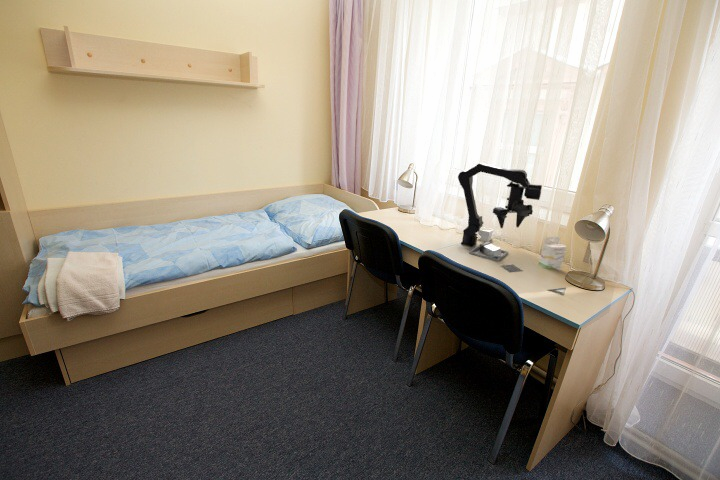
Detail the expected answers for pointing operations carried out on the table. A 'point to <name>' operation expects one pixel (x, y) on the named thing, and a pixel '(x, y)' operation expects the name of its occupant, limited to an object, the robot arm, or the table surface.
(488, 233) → the beige cube
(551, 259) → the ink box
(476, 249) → the tray
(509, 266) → the stud plate
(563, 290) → the external hard drive
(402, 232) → the table surface
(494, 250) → the strut
